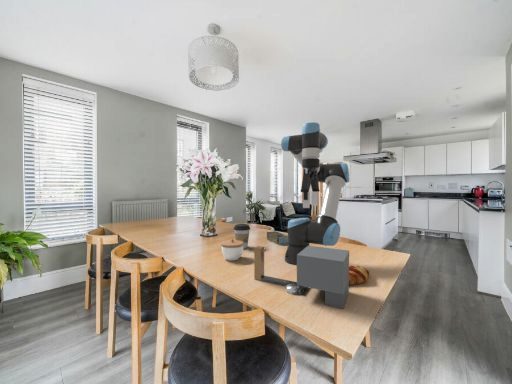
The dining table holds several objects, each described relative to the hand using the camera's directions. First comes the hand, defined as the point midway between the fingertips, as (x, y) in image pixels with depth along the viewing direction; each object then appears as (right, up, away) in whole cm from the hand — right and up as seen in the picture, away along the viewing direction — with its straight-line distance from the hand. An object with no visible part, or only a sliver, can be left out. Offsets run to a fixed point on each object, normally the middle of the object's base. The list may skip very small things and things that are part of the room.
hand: (310, 206), depth 104 cm
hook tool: (-15, -32, -7) cm, 36 cm away
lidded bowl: (-38, -31, +28) cm, 56 cm away
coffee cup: (-34, -31, +52) cm, 69 cm away
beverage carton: (-9, -31, +68) cm, 75 cm away
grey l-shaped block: (+1, -32, -16) cm, 36 cm away
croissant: (+19, -32, -2) cm, 37 cm away
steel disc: (-10, -32, -13) cm, 36 cm away
